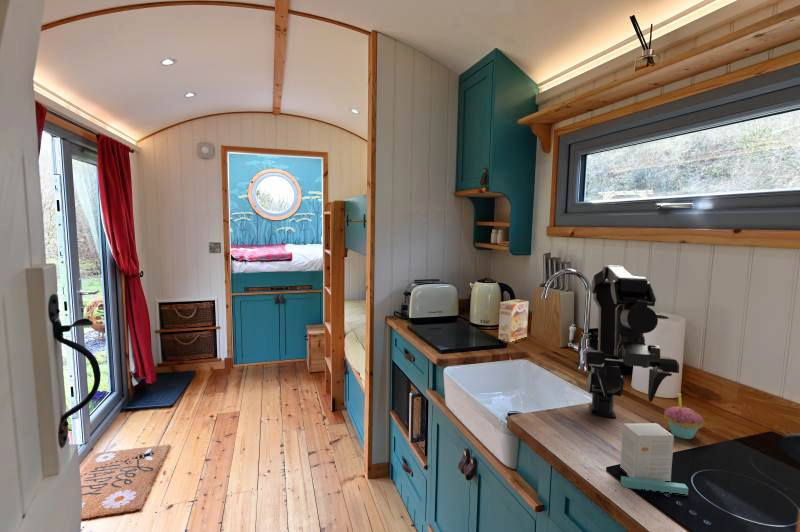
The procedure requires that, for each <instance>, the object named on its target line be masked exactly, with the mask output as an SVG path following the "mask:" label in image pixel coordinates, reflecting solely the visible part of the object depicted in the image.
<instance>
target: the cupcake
mask: <svg viewBox="0 0 800 532" xmlns="http://www.w3.org/2000/svg"><path fill="white" fill-rule="evenodd" d="M677 398H678V399H677V400H678V406H677V405H674V406H670V407H667V408H666V409H665V410H664V415H663V417H664V419H665V420H666V421H667V422H668V425H669V428H670V433H671V434H672V435H674V437H677V438H680V439H684V440H691V439H694V437H695V435H696V432H697V431H699V429H702V428H703V427H704V419H703V418H702V417H703V416H701V415H700V414H699V413H697V412H696V410H693V409H691V407H685V406H683V405H682V403H683V402H682V393H681V392H680V390H678V394H677Z"/></svg>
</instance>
